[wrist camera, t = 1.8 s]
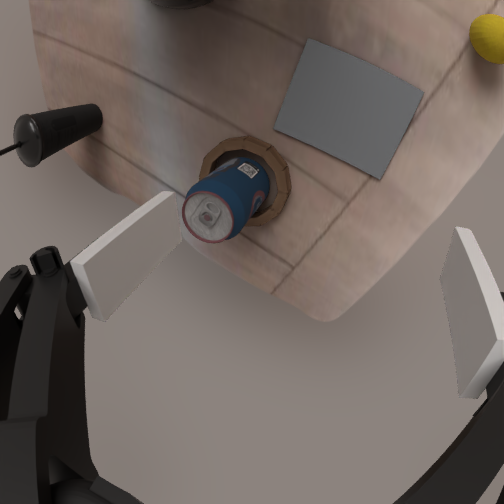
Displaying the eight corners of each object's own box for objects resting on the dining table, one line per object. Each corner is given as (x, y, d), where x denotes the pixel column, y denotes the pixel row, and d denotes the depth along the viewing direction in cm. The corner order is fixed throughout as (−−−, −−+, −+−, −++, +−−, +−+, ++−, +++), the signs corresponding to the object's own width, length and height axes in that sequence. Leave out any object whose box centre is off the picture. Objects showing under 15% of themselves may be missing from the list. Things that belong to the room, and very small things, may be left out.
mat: (274, 127, 37) (272, 128, 36) (309, 38, 30) (308, 37, 29) (379, 178, 36) (380, 179, 35) (423, 92, 28) (424, 92, 28)
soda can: (254, 213, 44) (219, 260, 34) (214, 184, 44) (167, 222, 34) (282, 175, 40) (251, 214, 30) (238, 144, 39) (192, 172, 30)
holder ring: (198, 198, 46) (191, 204, 44) (219, 123, 39) (213, 126, 37) (271, 233, 45) (267, 240, 43) (304, 159, 38) (301, 163, 36)
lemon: (455, 18, 22) (477, 6, 16) (496, 21, 20) (524, 12, 13) (467, 63, 25) (491, 62, 18) (506, 65, 22) (537, 66, 16)
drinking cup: (82, 89, 42) (-22, 121, 26) (113, 104, 42) (3, 142, 26) (74, 129, 46) (-21, 171, 30) (103, 146, 46) (4, 196, 30)
